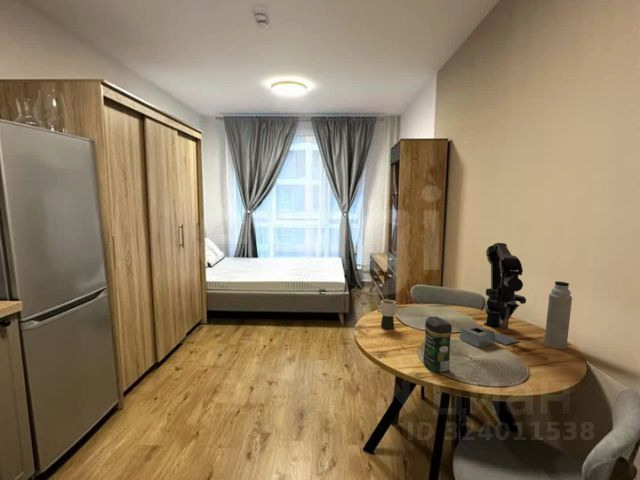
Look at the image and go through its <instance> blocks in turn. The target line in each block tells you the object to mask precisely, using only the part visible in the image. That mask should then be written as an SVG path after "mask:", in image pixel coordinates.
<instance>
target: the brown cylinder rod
mask: <svg viewBox="0 0 640 480" xmlns="http://www.w3.org/2000/svg"><path fill="white" fill-rule="evenodd" d="M507 307H509V306H507ZM509 311H510V307H509V310H508V312H507V315H506V317H505V319H504V320H501V327H500V329H501V330H509V321H510V318H509Z"/></svg>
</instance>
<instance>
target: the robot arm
mask: <svg viewBox="0 0 640 480" xmlns="http://www.w3.org/2000/svg"><path fill="white" fill-rule="evenodd" d="M485 254H486V258H487V261H488V263H489V264H490V288H486V289H485V290H486V291H485V295H486V296H487V299H486V303H485V305H484V312H485V314H486V315H487V316H486V322H484V323H483V324H484V325H486V326H489V327H491V328H494V329H497V328H501V320H504V319H505V317H506V315H507V312H508V310H509V307H510V311H509V319H510V318H511V317H512V315H513V313H515V312H516V310H517V308H519V307H520V304H521V305H523V304H526V302H527V298H526V297H525V296H523V295H520V294H519V295H518V294H515V293H516V292H519V291H521V290H522V289H523V286H524V283H523V281H522V280H521V279H520V278H519V276H523V272H524V270H523V265H522V263H521V262H522V261H521V260H520V259H519V258H518V256H516V255H513V254H512V253H511V252H510V250H509V249H508V246H507V243H505V242H496V243H494V244H492V245H490V246H488V247H487V248H486V253H485ZM517 302H519V303H520V304H517ZM507 306H509V307H507Z"/></svg>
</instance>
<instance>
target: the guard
mask: <svg viewBox="0 0 640 480" xmlns="http://www.w3.org/2000/svg"><path fill="white" fill-rule="evenodd" d="M459 329H460V330H459V331H460V332H459V340H462V341H463V340H464V342H466V343H468V344H470V345H471V346H474V345H475V346H474V347H476V346H477V347H476V348H478V347H479V348H481V347H482V346H483V347H486V346H489V345H495V342H496V341H495V335H496V332H495V331H492V330H490V329H487V328H485V327H482V326H480V325H478V324H473V325H469V326H465V327H459ZM483 347H482V348H483Z"/></svg>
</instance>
